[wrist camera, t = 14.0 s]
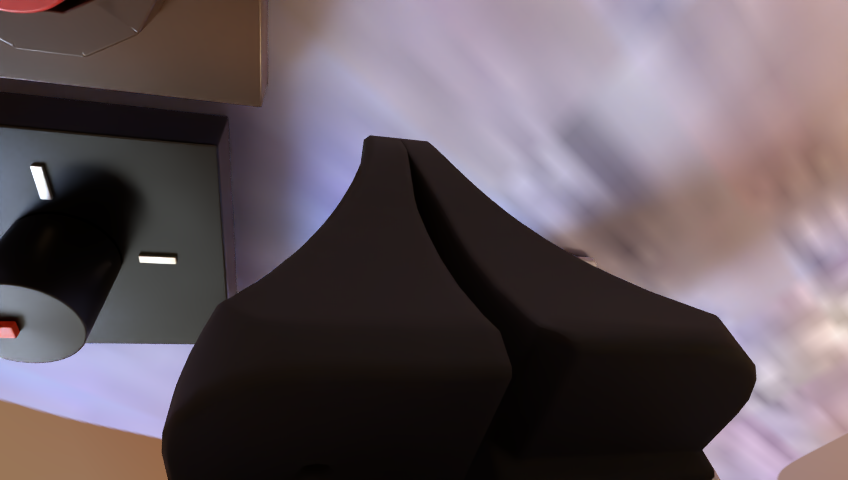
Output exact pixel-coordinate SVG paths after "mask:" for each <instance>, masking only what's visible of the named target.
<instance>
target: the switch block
mask: <svg viewBox="0 0 848 480" xmlns="http://www.w3.org/2000/svg"><path fill="white" fill-rule="evenodd" d="M0 78H8V79H17V80H26V81H35V82H43V83H52V84H61V85H70V86H79V87H87V88H96V89H105V90H114V91H123V92H131V93H140V94H149V95H158V96H167V97H175V98H184V99H193V100H202V101H211V102H219V103H228V104H237V105H246V106H255V107H262V104H263V100H264V96H265V92H266V88H267V84H268V0H65V1H63V2H61V3H60V4H58V5H56V6H55V7H53V8H51V9H48V10H45V11H42V12H36V13H11V12H6V11H1V10H0Z"/></svg>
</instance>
